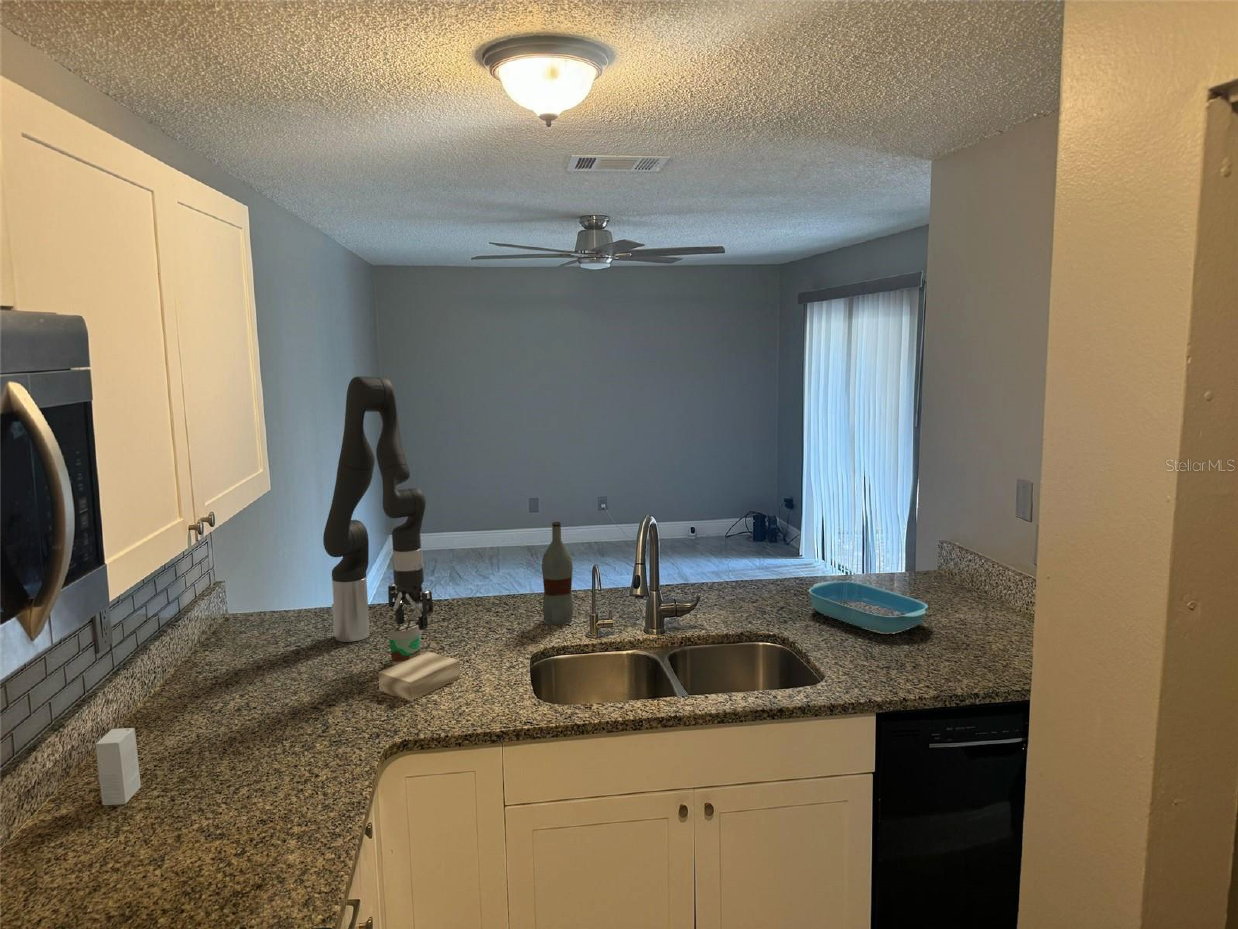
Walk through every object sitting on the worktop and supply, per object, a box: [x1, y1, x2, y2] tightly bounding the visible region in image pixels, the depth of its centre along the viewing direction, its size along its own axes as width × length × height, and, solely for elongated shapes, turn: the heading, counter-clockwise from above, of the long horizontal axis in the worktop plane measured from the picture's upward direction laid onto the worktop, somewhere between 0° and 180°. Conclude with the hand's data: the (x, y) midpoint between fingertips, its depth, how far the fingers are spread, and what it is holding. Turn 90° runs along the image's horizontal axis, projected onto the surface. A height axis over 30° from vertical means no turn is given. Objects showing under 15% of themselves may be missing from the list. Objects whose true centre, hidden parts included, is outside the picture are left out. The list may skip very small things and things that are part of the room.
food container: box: [387, 616, 424, 667], centre depth 218 cm, size 12×6×10 cm, turn 169°
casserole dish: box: [808, 580, 929, 632], centre depth 249 cm, size 37×22×7 cm, turn 35°
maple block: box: [377, 651, 461, 702], centre depth 203 cm, size 11×16×5 cm
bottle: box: [541, 521, 574, 626], centre depth 247 cm, size 9×9×30 cm
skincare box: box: [94, 727, 142, 806], centre depth 153 cm, size 6×4×12 cm
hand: (411, 626), depth 217 cm, fingers open, 8 cm apart
